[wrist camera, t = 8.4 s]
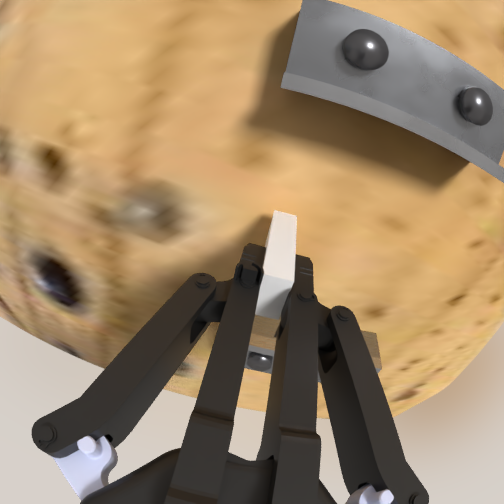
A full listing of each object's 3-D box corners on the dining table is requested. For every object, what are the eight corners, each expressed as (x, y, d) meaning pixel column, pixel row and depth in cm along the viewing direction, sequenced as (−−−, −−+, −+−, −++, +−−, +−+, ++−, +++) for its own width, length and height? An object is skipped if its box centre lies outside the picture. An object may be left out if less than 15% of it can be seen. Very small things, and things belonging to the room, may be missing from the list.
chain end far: (226, 338, 28) (217, 371, 25) (234, 302, 25) (224, 338, 22) (352, 363, 28) (354, 396, 25) (376, 333, 25) (381, 368, 22)
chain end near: (284, 86, 15) (280, 87, 11) (303, 8, 12) (304, -13, 8) (472, 161, 15) (503, 183, 11) (492, 95, 12) (529, 105, 8)
